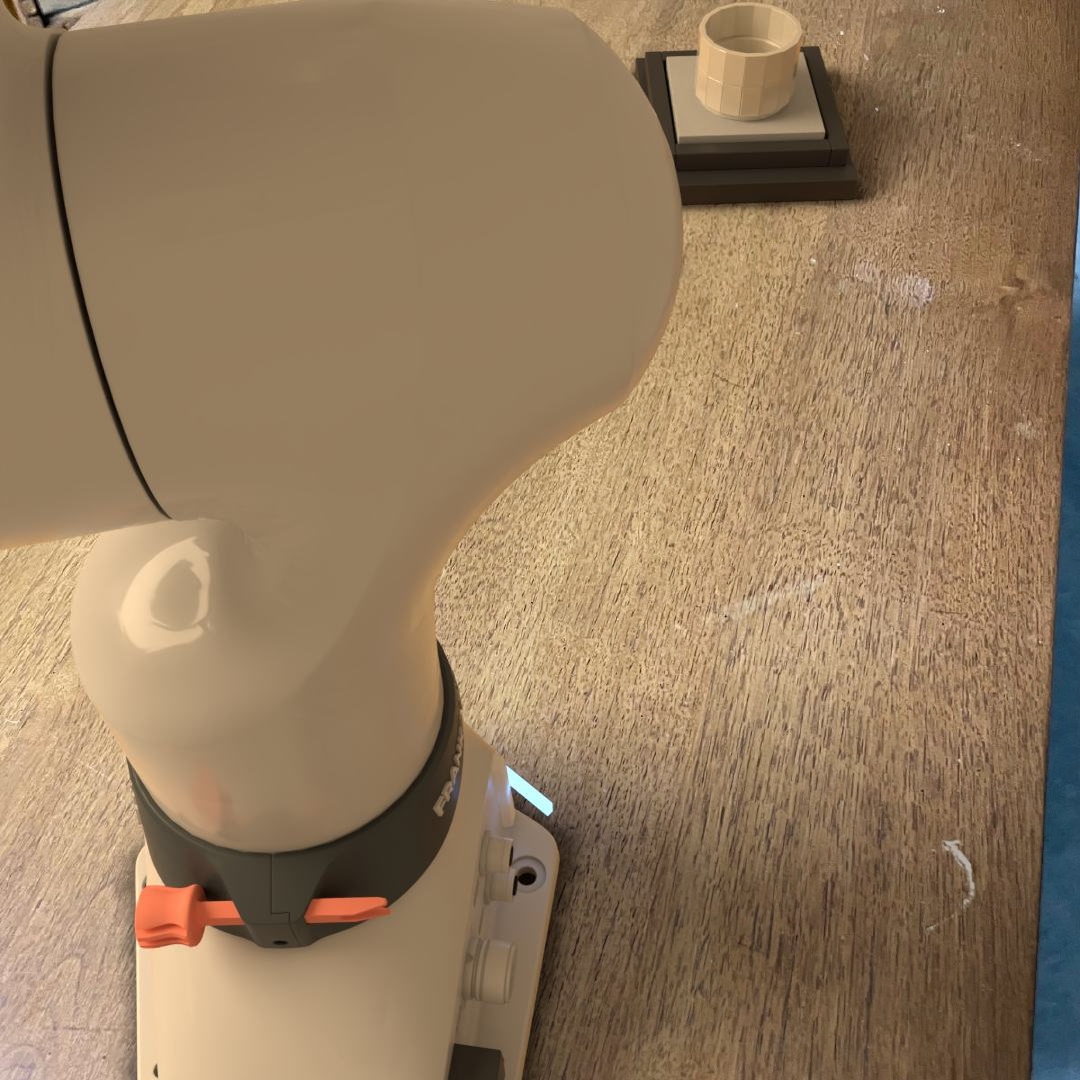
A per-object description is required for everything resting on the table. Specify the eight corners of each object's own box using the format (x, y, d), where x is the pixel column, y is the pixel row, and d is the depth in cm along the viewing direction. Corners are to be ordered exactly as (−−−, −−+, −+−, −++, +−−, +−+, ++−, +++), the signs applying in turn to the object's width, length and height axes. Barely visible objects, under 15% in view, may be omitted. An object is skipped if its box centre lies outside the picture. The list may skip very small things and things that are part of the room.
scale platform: (822, 151, 83) (825, 131, 82) (677, 156, 83) (678, 136, 82) (800, 71, 89) (803, 51, 88) (665, 75, 89) (666, 56, 88)
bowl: (797, 122, 83) (809, 54, 79) (698, 125, 83) (704, 57, 79) (784, 67, 87) (794, 0, 83) (690, 70, 87) (695, 3, 83)
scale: (854, 199, 83) (862, 161, 80) (650, 206, 83) (652, 168, 81) (817, 70, 93) (823, 34, 90) (634, 76, 93) (636, 40, 90)
